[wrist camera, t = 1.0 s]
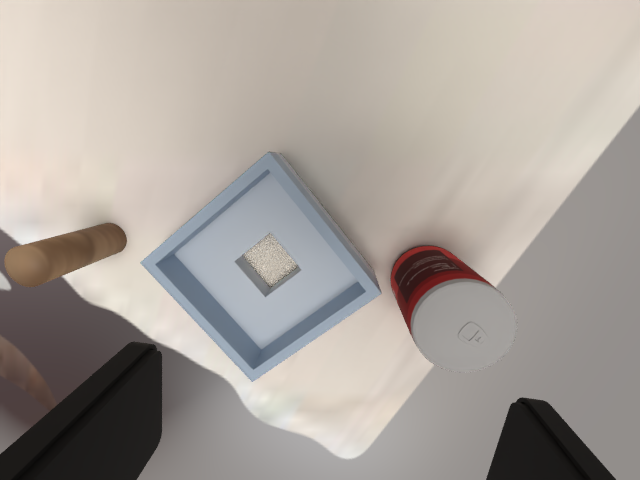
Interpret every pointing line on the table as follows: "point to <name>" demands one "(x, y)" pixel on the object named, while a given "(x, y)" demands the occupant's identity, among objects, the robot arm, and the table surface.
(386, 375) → the table surface
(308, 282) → the slate box
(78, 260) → the walnut peg
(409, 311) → the canned food
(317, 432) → the table surface
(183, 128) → the table surface
